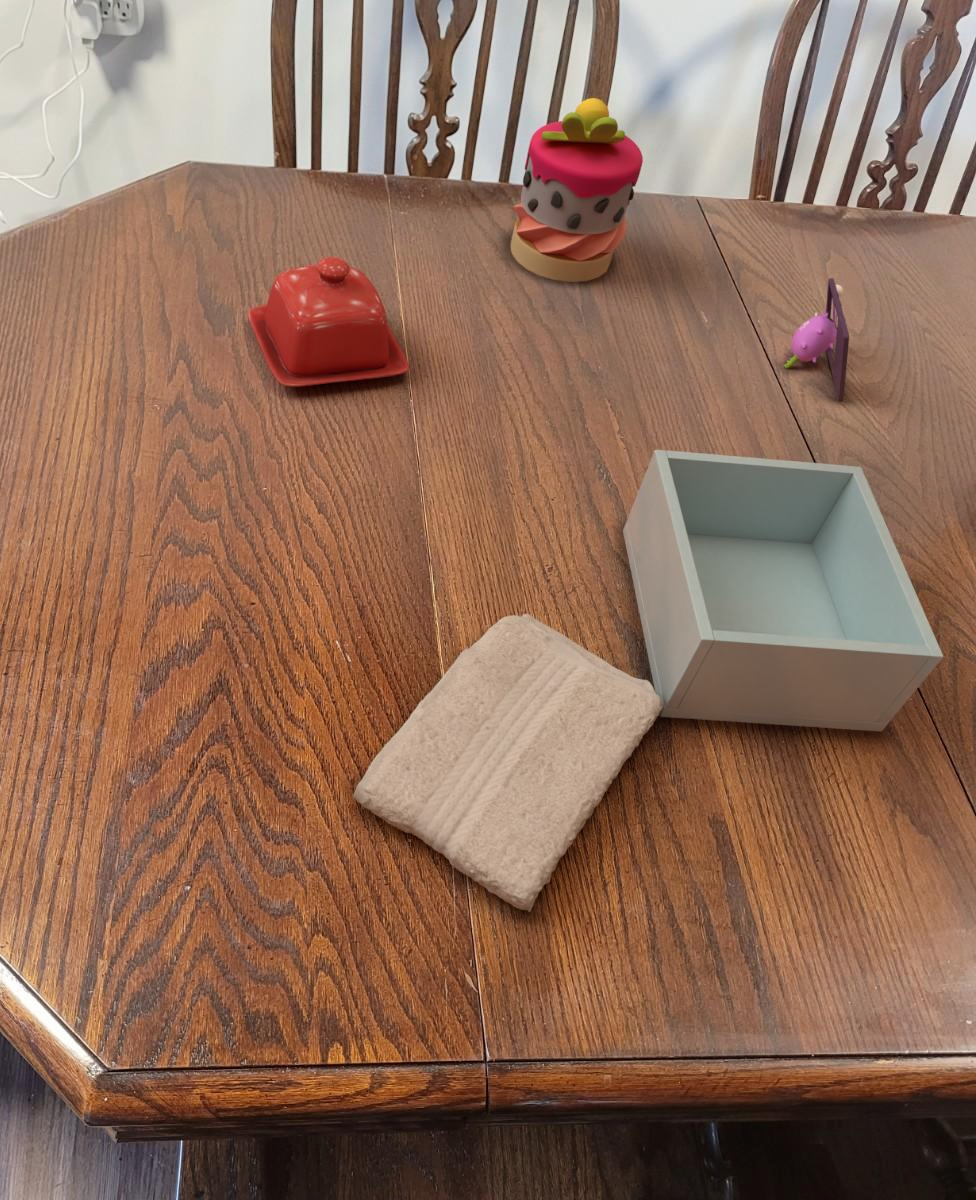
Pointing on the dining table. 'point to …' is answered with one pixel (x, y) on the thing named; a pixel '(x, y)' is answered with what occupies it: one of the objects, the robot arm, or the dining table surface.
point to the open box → (773, 594)
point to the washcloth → (510, 755)
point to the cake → (575, 195)
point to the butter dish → (326, 327)
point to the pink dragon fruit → (825, 339)
